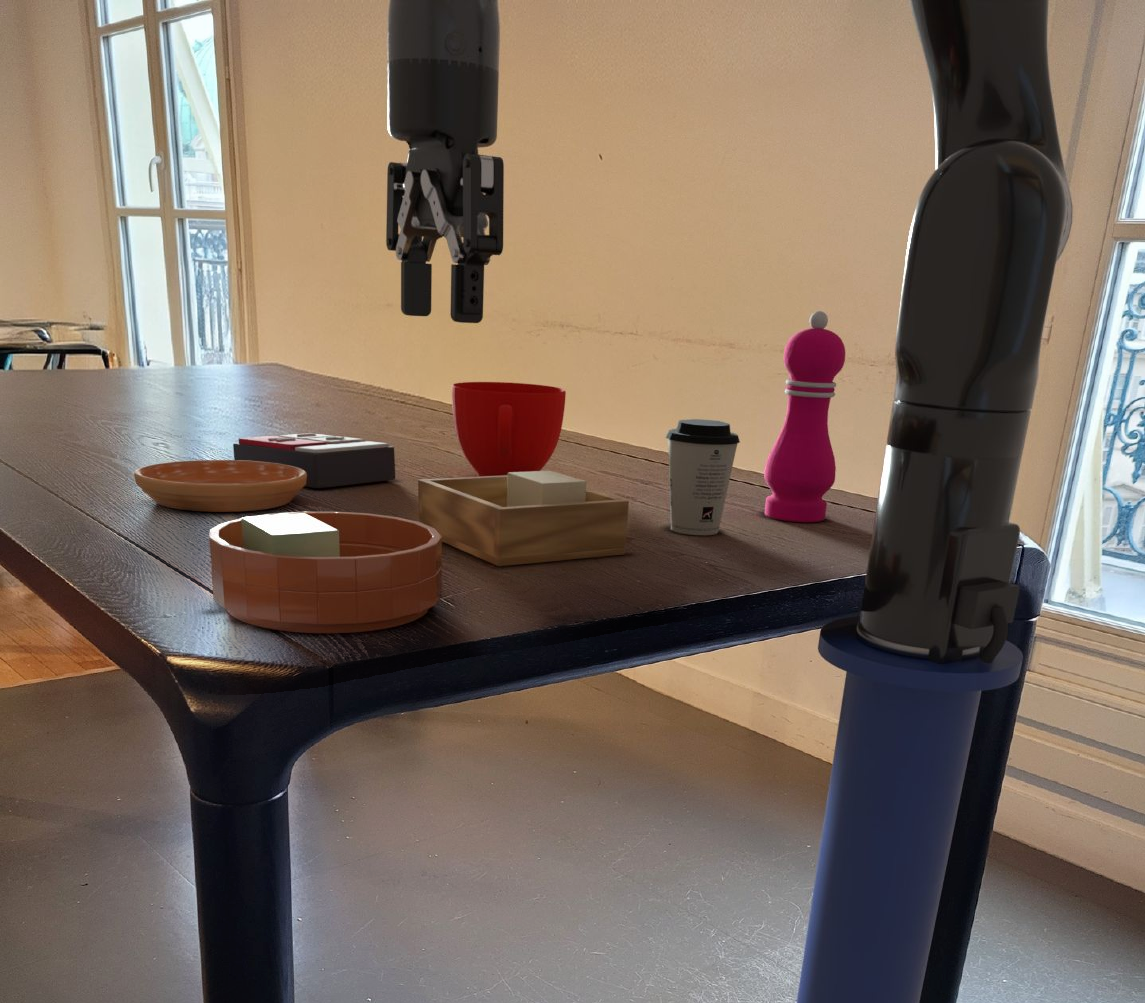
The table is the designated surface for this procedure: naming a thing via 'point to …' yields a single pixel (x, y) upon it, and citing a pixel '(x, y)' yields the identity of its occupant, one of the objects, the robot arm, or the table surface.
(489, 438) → the ceramic cup
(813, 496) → the pepper mill
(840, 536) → the table surface
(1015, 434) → the robot arm
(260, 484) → the saucer
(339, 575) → the bowl
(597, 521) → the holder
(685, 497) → the coffee cup
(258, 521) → the packet
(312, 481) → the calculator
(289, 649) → the table surface
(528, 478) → the block
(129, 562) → the table surface
